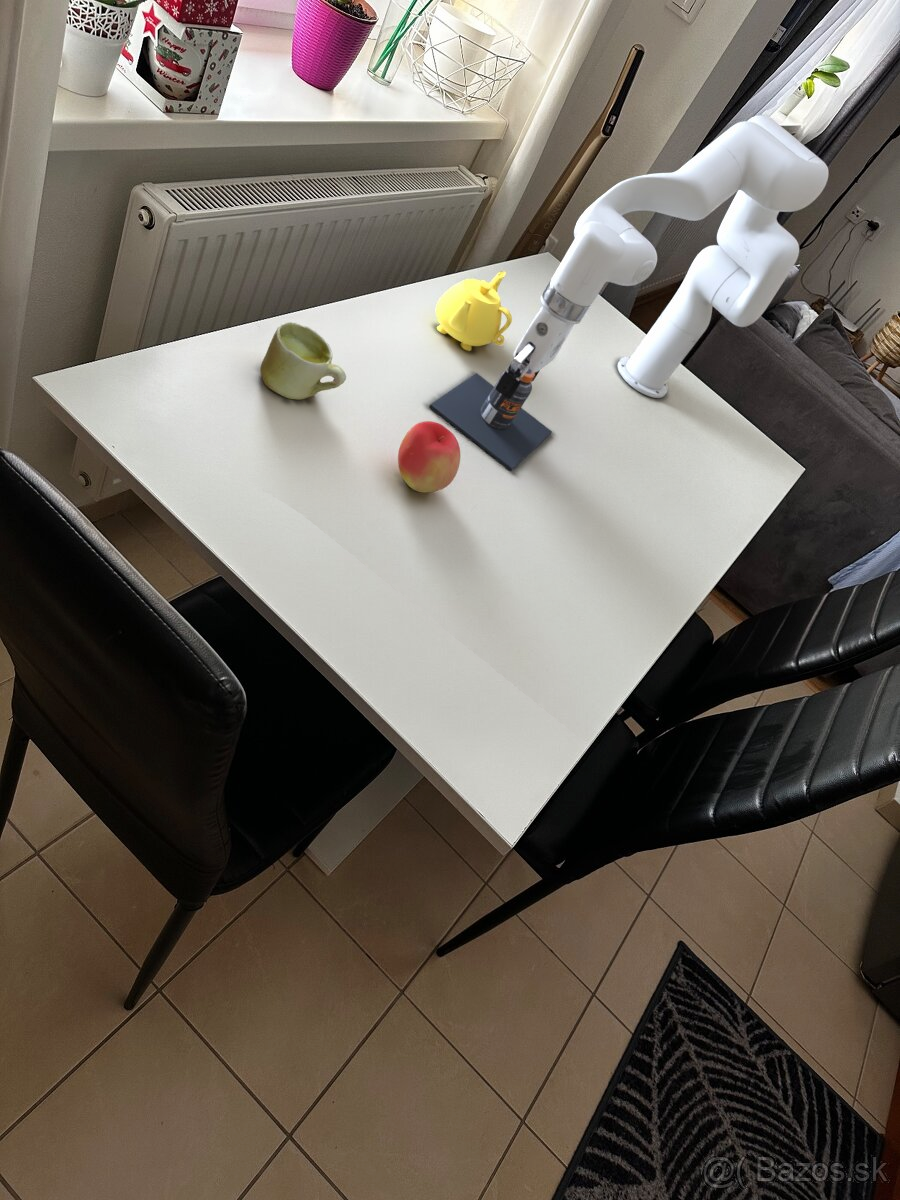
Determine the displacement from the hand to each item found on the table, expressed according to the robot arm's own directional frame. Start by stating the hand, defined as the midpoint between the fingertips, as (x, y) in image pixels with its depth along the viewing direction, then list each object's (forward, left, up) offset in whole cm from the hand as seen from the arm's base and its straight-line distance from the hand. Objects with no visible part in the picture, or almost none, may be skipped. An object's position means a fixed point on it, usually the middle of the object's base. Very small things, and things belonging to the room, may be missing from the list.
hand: (514, 385), depth 148 cm
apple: (+28, 0, -9) cm, 29 cm away
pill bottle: (0, 0, -8) cm, 8 cm away
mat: (0, 0, -8) cm, 8 cm away
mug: (+28, -24, -9) cm, 38 cm away
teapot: (-18, -17, -9) cm, 26 cm away
